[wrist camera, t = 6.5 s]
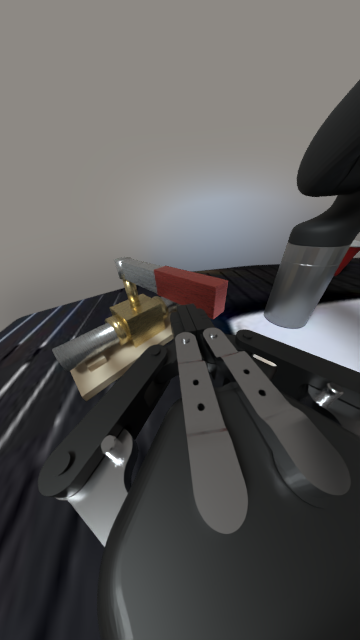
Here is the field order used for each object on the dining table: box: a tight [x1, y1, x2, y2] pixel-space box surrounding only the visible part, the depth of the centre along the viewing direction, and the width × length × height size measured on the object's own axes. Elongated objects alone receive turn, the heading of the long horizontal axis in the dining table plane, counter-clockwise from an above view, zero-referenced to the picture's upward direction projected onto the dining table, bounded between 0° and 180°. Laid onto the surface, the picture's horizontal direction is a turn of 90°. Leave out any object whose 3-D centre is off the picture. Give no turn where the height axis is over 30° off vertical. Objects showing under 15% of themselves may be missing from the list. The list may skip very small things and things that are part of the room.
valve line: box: [52, 280, 180, 372], centre depth 30 cm, size 30×7×13 cm, turn 136°
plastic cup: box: [334, 240, 360, 276], centre depth 56 cm, size 11×11×12 cm
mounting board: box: [70, 309, 177, 401], centre depth 34 cm, size 30×12×3 cm, turn 136°
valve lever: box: [114, 257, 228, 319], centre depth 20 cm, size 20×3×3 cm, turn 46°
